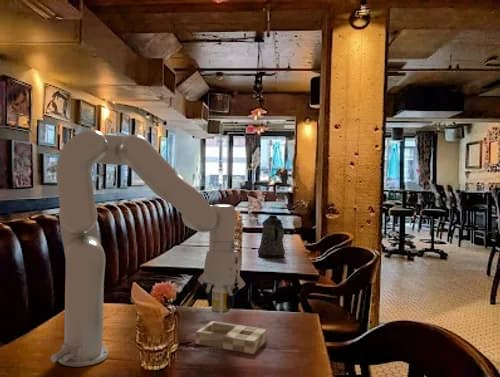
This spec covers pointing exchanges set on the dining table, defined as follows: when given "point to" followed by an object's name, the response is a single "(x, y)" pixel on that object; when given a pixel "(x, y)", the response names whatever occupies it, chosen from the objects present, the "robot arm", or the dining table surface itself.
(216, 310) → the supplement bottle
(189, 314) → the dining table surface
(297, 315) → the dining table surface
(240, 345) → the socket block
